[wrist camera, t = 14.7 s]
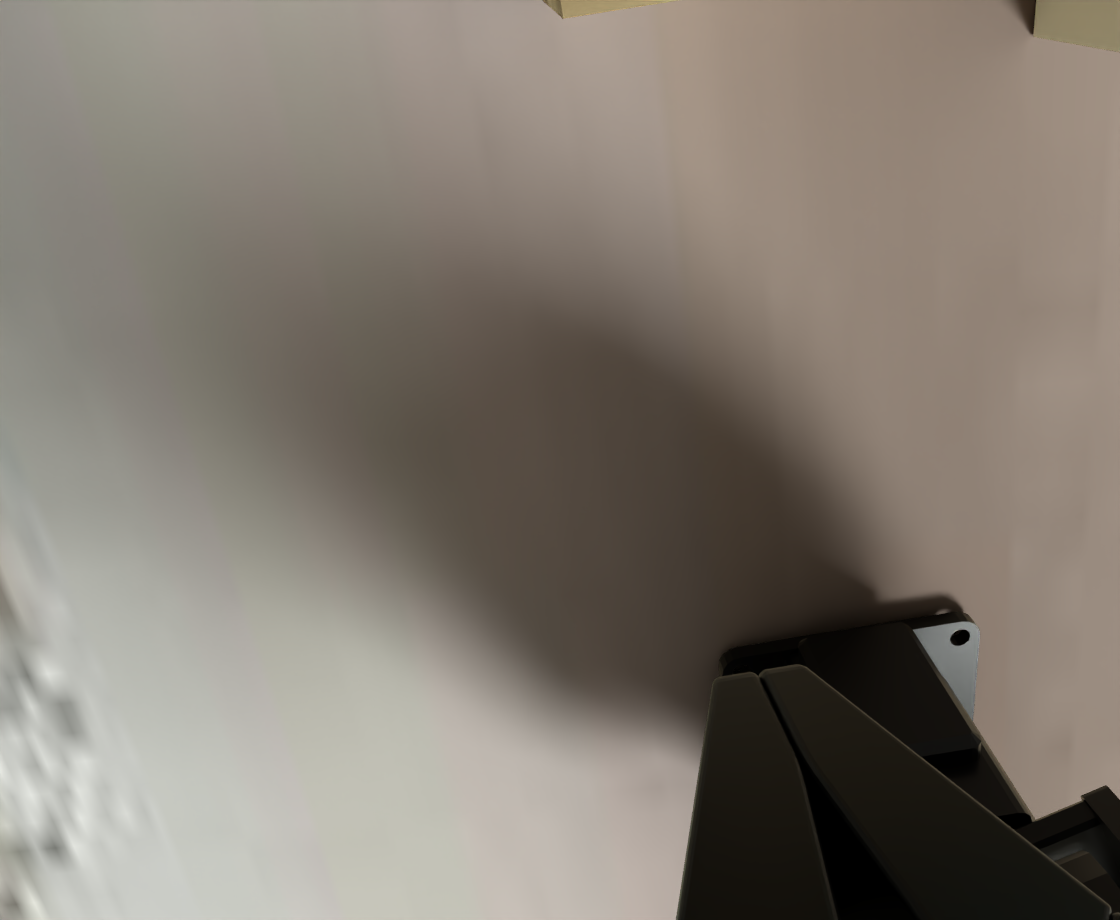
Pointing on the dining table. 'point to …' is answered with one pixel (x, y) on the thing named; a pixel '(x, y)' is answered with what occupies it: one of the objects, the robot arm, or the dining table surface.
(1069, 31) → the stop wall
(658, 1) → the block
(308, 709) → the dining table surface
